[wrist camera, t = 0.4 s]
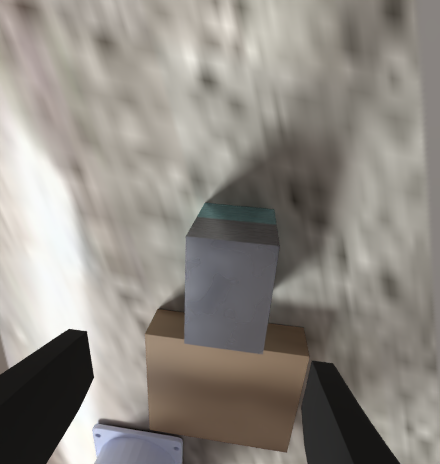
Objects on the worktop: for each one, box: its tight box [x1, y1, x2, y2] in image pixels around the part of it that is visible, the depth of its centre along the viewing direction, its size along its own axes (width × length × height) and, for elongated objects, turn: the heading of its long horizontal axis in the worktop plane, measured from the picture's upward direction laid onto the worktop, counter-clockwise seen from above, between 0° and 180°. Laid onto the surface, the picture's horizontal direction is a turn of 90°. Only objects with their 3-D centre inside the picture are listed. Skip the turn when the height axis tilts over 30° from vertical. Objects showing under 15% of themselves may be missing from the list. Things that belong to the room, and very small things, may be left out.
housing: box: [184, 203, 280, 355], centre depth 16 cm, size 6×4×5 cm, turn 177°
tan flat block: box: [145, 309, 310, 453], centre depth 21 cm, size 9×10×2 cm
